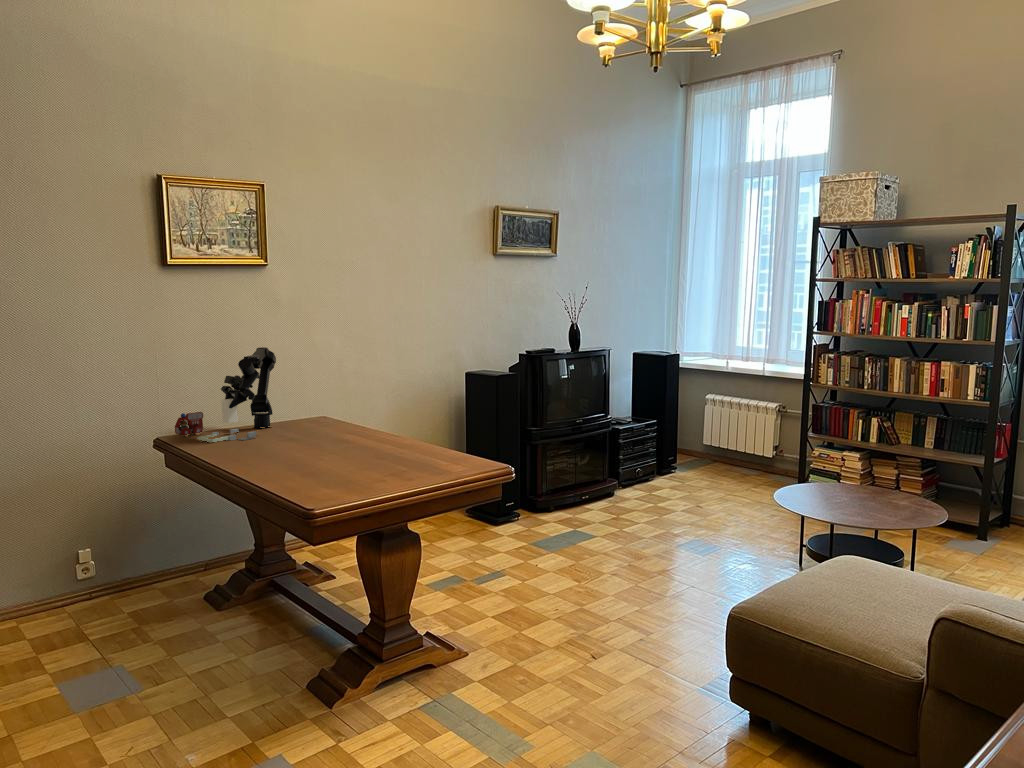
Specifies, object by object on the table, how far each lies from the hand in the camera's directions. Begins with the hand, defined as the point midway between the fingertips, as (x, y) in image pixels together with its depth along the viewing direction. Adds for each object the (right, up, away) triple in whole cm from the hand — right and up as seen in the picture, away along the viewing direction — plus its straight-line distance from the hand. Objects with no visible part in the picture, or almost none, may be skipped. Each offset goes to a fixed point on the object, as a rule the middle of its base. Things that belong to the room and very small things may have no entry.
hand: (226, 407), depth 332 cm
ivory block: (+1, -6, +2) cm, 7 cm away
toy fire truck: (-21, -13, +11) cm, 27 cm away
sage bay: (-4, -14, -4) cm, 15 cm away
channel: (+2, -13, +3) cm, 14 cm away
